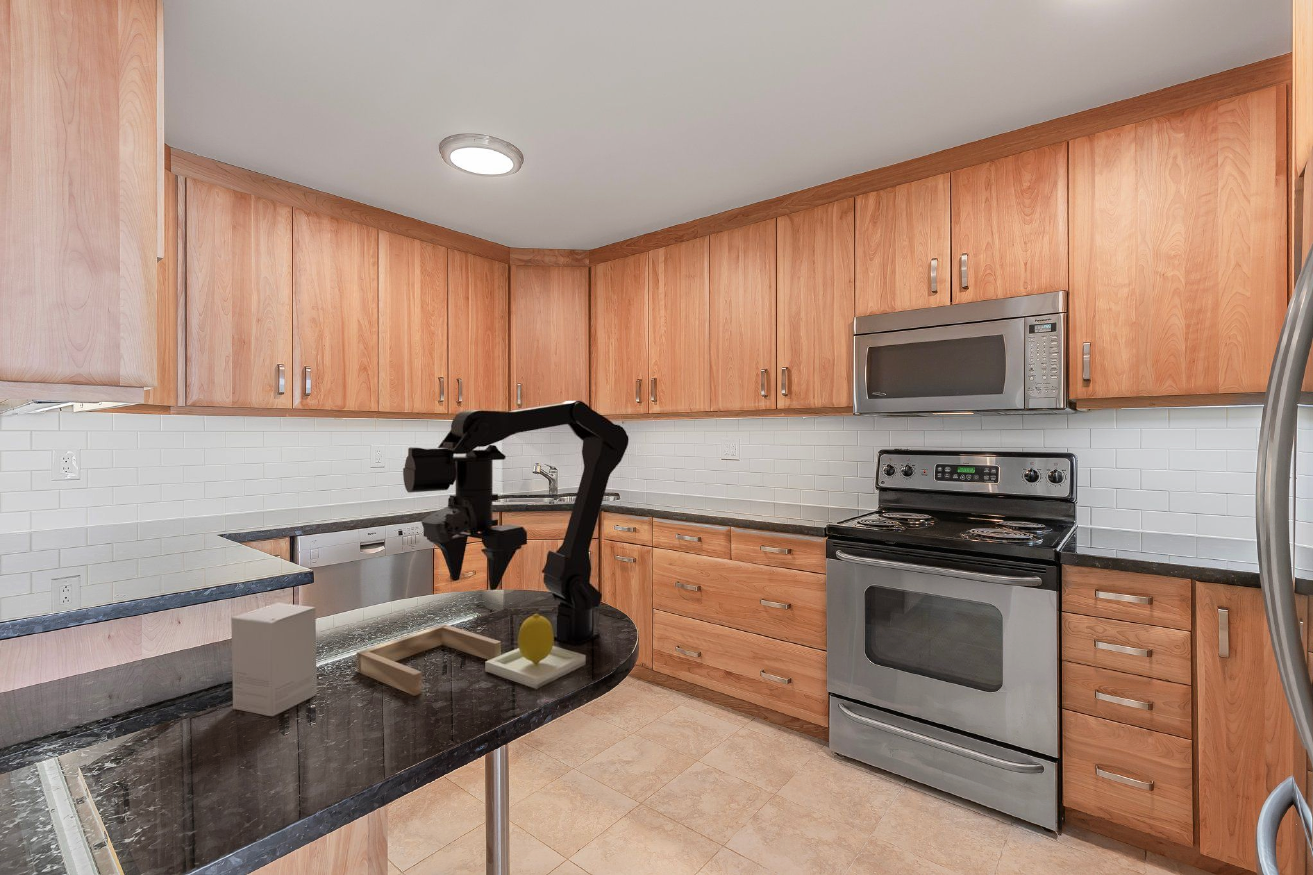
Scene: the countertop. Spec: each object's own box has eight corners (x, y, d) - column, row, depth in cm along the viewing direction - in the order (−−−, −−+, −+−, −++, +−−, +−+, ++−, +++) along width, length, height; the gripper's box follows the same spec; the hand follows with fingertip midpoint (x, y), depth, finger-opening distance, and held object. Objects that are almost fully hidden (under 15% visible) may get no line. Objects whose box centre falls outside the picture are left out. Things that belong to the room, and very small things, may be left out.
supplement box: (318, 694, 88) (318, 606, 87) (271, 718, 81) (270, 622, 80) (280, 686, 90) (279, 600, 90) (230, 709, 83) (229, 616, 83)
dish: (535, 649, 106) (535, 640, 105) (585, 664, 99) (585, 655, 99) (485, 671, 96) (485, 661, 96) (536, 688, 90) (536, 678, 90)
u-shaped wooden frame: (443, 640, 109) (443, 624, 109) (500, 659, 101) (500, 641, 101) (356, 671, 96) (356, 652, 96) (414, 695, 88) (414, 674, 88)
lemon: (545, 672, 95) (546, 620, 94) (512, 669, 96) (512, 618, 95) (558, 658, 100) (559, 609, 100) (526, 655, 101) (526, 607, 101)
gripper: (393, 488, 98) (394, 586, 98) (472, 498, 87) (472, 607, 88) (452, 483, 107) (452, 572, 107) (529, 491, 97) (529, 590, 97)
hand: (474, 584), depth 100 cm, fingers open, 9 cm apart
